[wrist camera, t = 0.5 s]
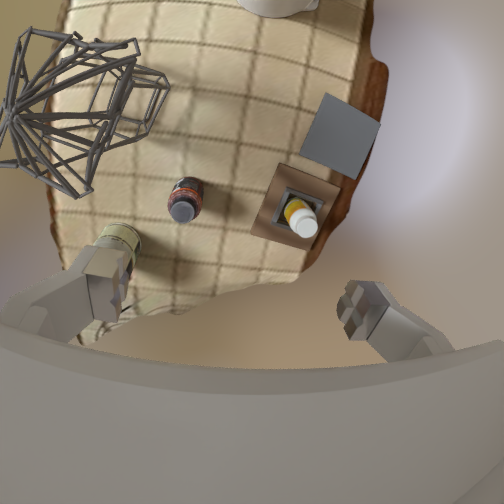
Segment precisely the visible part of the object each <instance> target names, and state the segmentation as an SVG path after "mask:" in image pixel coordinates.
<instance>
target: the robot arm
mask: <svg viewBox="0 0 504 504" xmlns="http://www.w3.org/2000/svg"><path fill="white" fill-rule="evenodd" d="M237 1H238V2H239V4H240V5H241V6H243V7H244V8H245V9H247V10H248V11H250V12H252V13H254V14H257V15H260V16H264V17H270V18H281V17H287V16H290V15H293V14H295V13H297V12H300V11H312V10H315V9H316V8H317V7H318V2H319V0H237ZM312 1H314V2H312ZM127 264H128V254H127V252H126V251H121V250H115V249H109V248H103V247H98V246H90V245H86V246H84V248H83V249H82V251H81V252H80V253H79V255H78V256H77V258H76V259H75V260H74V262H73V263H72V265H71V266H70V268H69V269H68V271H66V270H63V271H61V272H59V273H57V274H55V275H53V276H51V277H49V278H46V279H44V280H43V281H41V282H39V283H37V284H35V285H33V286H31V287H29V288H27V289H25V290H23V291H21V292H19V293H17V294H15V295H14V296H12V297H10V298H9V300H8V301H7V303H6V304H5V306H4V307H3V309H2V310H1V312H0V504H504V342H503V341H501V340H495V341H492V342H488V343H484V344H480V345H477V346H473V347H469V348H464V349H461V350H456V351H455V349H454V348H453V347H452V345H451V344H450V342H449V341H448V339H447V338H446V336H445V335H444V334H443V333H442V332H441V331H439V330H437V329H436V328H435V327H433V326H432V325H430V324H429V323H427V322H426V321H424V320H423V319H422V318H420V317H419V316H417V315H416V314H414V313H412V312H411V311H410V310H408V309H407V308H405V307H404V306H400V304H399V303H398V302H397V300H396V299H395V298H394V296H393V295H392V294H391V292H390V291H389V290H388V288H387V287H386V286H385V285H384V283H382V282H374V281H357V280H350V281H349V282H348V283H347V285H346V287H345V291H346V293H345V294H344V295H343V296H341V297H340V299H339V301H338V304H337V316H338V318H339V320H340V321H342V322H343V323H344V324H345V325H344V330H345V332H346V334H347V336H348V338H349V340H367V342H368V343H369V344H370V345H371V346H372V347H373V348H374V349H375V350H376V351H377V352H378V353H379V354H380V355H381V356H382V357H383V358H384V359H385V360H386V361H387V362H388V363H380V364H371V365H361V366H349V367H334V368H315V369H242V368H223V367H208V366H197V365H187V364H177V363H168V362H160V361H154V360H146V359H141V358H134V357H128V356H122V355H117V354H112V353H107V352H102V351H97V350H93V349H88V348H84V347H80V346H76V345H72V344H68V342H69V341H70V340H72V339H73V338H74V337H75V336H76V335H77V334H79V333H80V332H81V331H82V330H83V329H84V328H86V327H87V326H88V325H89V324H90V323H92V322H93V321H94V319H95V320H101V321H107V322H114V323H117V322H118V319H119V316H120V313H121V310H122V306H121V302H123V301H124V300H125V298H126V295H127V290H128V281H129V278H128V273H127V271H126V270H125V269H126V267H127Z"/></svg>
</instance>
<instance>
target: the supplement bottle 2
mask: <svg viewBox="0 0 504 504" xmlns="http://www.w3.org/2000/svg"><path fill="white" fill-rule="evenodd" d="M283 213H284V216H285V218H286V219H287V221H288V223H289V225H290V227H291V229H292V230H293V231H294V232H295V233H297V234H299V235H300V236H301V237H303V238H309V237H311V236H313V235H314V234H315V233H316V231H317V229H318V225H317V218H316V215H315V214H314V212H313V211H312V209H311V208H310V207H309V206H308V204H307V203H306V202H305V201H304V200H303V199H301V198H298V197H295V198H291V199H289V200H288V201H286V203H285V204H284V207H283Z"/></svg>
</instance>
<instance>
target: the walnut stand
mask: <svg viewBox="0 0 504 504" xmlns="http://www.w3.org/2000/svg"><path fill="white" fill-rule="evenodd" d="M339 191H340V188H339V187H338V186H336V185H334V184H331V183H329V182H327V181H324V180H322V179H320V178H317V177H315V176H312V175H310V174H307V173H305V172H303V171H300V170H297V169H295V168H292V167H290V166H287V165H285V164H282V163H279V165H278V167H277V169H276V172H275V174H274V176H273V179H272V181H271V184H270V186H269V188H268V191H267V193H266V195H265V198H264V200H263V203H262V205H261V207H260V210H259V212H258V214H257V217H256V219H255V222H254V224H253V226H252V229H251V231H250V232H251V235H254V236H258V237H261V238H265V239H268V240H272V241H275V242H278V243H282V244H285V245H289V246H292V247H296V248H299V249H302V250H306V251H309V250H310V248H311V246H312V244H313V242H314V240H315V238H316V236H317V235H318V233H319V231H320V229H321V227H322V225H323V223H324V221H325V219H326V217H327V215H328V213H329V211H330V209H331V207H332V205H333V203H334V201H335V199H336V197H337V195H338V193H339ZM289 193H291V194H294V195H297V196H300V197H302V198H305V199H308V200H310V201H313V202H314V203H313V205H312V207H311V209H312V211H313V212H314V214H315V215H316V218H317V225H318V229H317V231H316V233H315V234H314V235H313V236H311V237H309V238H303V237H301V236H300V235H299V234H297V233H295V232H294V231H293V230H292V229H291V227H290V225H289V223H288V222H286V221H283V220H280V219H278V218H279V215H280V213H281V211H282V209H283V207H284V204H285V202H286V200H287V198H288V195H289Z"/></svg>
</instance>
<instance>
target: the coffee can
mask: <svg viewBox="0 0 504 504" xmlns="http://www.w3.org/2000/svg"><path fill="white" fill-rule="evenodd" d="M92 246H98V247H103V248H109V249H115V250H121V251H126V252H127V254H128V264H127V267H126V269H125V270H126V271H127V273H128V278H130V276H131V273H132V270H133V268H134V265H135V263H136V260H137V258H138V255H139V254H140V251H141V240H140V237H139V235H138V233H137V232H136V231H135V230H134V229H133V228H132V227H130V226H129V225H127V224H124V223H111V224H109V225H108V226H106V227H105V228H104V229H103V231H102V233H101V234H100V235H99V237H98V238H97V240H96V241H95V242H94V244H93V245H92Z"/></svg>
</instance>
